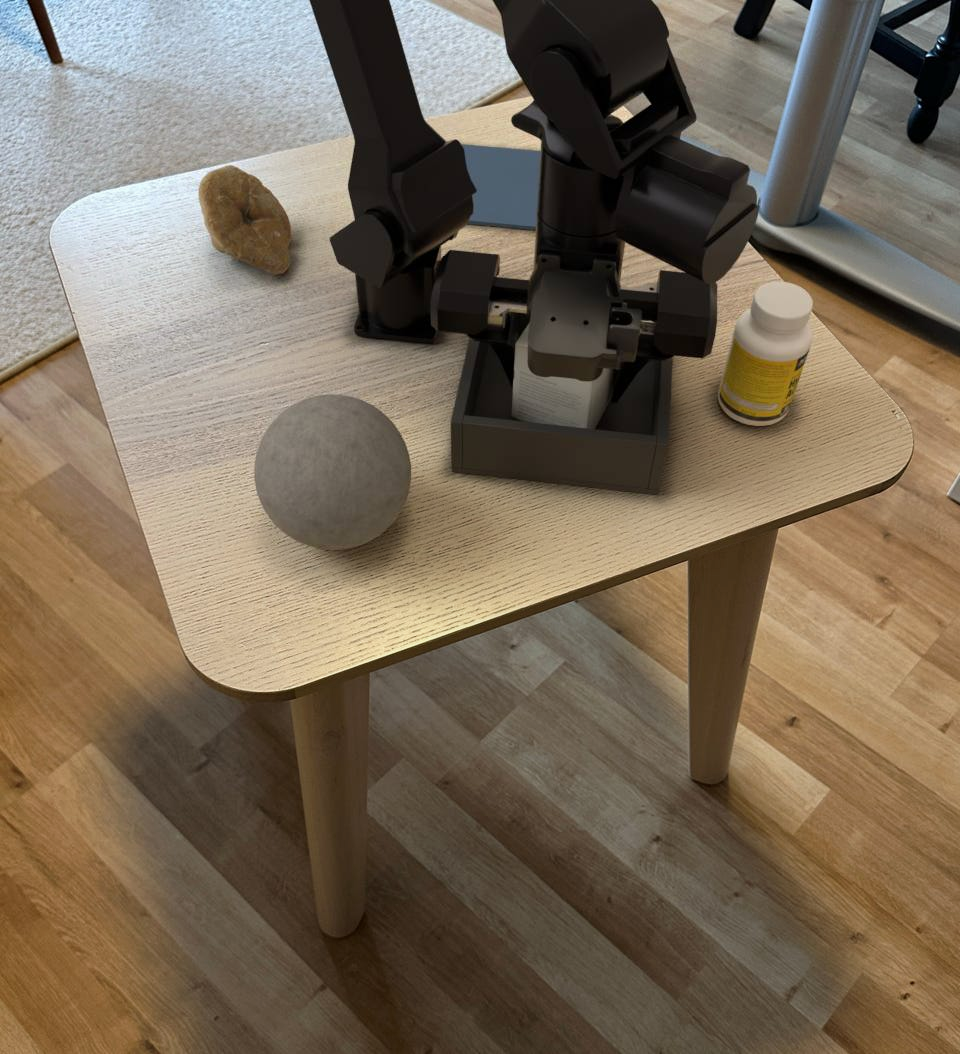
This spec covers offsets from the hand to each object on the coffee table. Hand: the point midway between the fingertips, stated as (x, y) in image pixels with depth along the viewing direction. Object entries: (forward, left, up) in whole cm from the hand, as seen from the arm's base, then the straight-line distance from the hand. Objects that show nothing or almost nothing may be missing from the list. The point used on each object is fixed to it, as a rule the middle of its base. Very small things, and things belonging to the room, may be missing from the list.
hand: (565, 393), depth 79 cm
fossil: (-28, +15, -2) cm, 32 cm away
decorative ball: (-14, -13, -2) cm, 19 cm away
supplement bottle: (+14, +3, -2) cm, 14 cm away
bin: (0, 0, -2) cm, 2 cm away
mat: (-7, +28, -2) cm, 29 cm away
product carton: (0, 0, -1) cm, 1 cm away
